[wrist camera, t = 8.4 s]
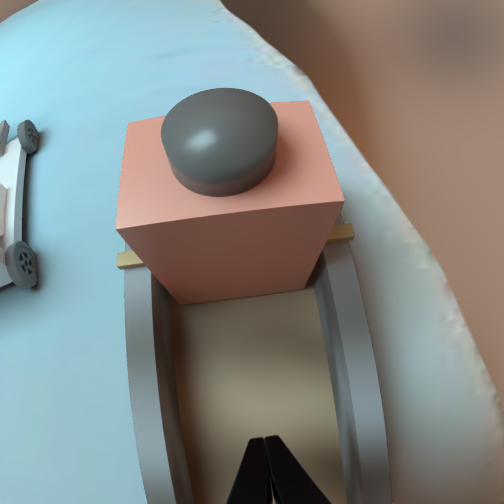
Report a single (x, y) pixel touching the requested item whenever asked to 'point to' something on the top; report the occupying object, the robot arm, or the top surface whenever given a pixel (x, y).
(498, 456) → the top surface
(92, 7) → the top surface
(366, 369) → the track
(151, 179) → the slider
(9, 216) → the toy car
